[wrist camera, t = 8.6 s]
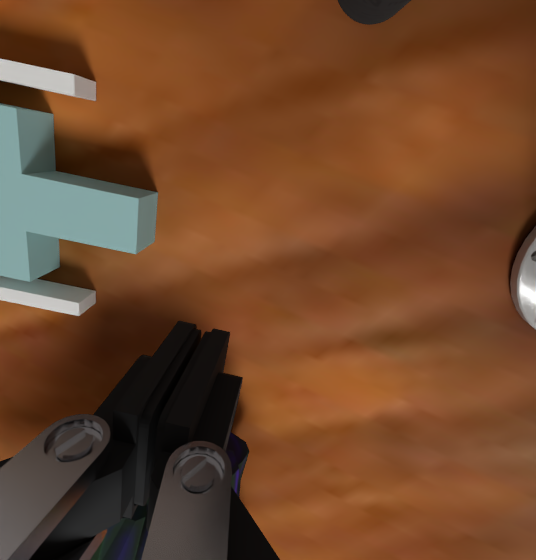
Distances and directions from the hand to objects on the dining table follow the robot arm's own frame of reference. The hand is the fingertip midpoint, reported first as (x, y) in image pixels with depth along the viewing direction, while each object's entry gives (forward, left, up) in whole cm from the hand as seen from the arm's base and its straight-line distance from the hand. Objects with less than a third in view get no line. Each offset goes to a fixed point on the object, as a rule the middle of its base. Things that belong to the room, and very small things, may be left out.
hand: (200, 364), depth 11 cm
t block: (+14, 0, -17) cm, 22 cm away
